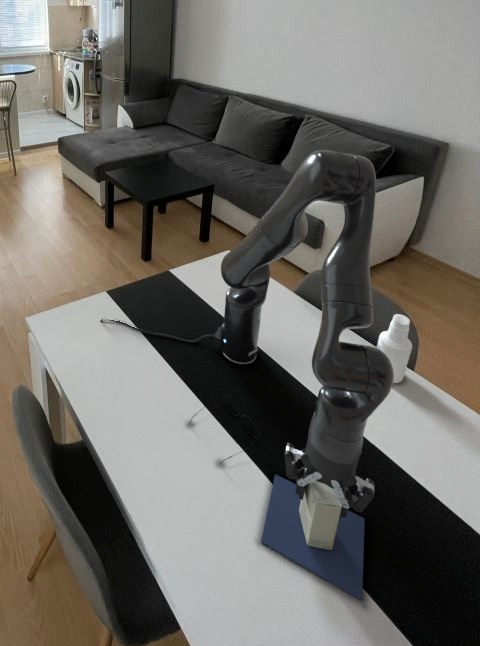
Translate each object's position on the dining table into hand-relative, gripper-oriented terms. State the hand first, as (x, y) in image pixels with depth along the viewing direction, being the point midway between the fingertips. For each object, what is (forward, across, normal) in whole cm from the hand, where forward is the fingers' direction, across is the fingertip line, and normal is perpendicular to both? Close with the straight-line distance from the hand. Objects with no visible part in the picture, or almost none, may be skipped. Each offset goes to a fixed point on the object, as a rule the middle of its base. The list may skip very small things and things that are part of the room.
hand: (319, 503), depth 78 cm
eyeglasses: (+8, +20, -11) cm, 24 cm away
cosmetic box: (+8, 0, 0) cm, 8 cm away
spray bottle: (+8, -12, -49) cm, 51 cm away
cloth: (+8, 0, 0) cm, 8 cm away
